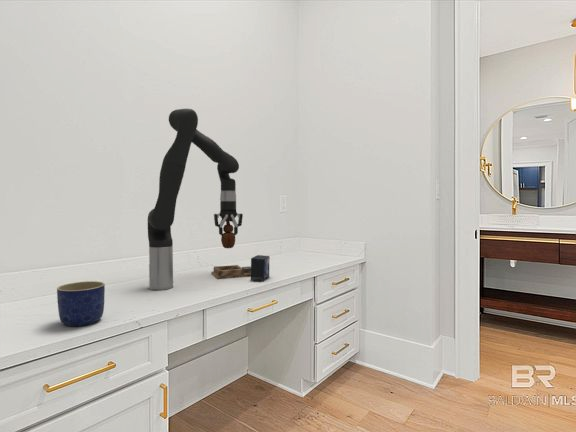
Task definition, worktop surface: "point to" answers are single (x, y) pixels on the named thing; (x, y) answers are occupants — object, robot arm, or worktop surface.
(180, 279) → the worktop surface
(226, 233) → the wooden figurine
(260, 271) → the small box
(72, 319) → the planter
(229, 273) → the wooden tray
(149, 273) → the robot arm
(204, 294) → the worktop surface
